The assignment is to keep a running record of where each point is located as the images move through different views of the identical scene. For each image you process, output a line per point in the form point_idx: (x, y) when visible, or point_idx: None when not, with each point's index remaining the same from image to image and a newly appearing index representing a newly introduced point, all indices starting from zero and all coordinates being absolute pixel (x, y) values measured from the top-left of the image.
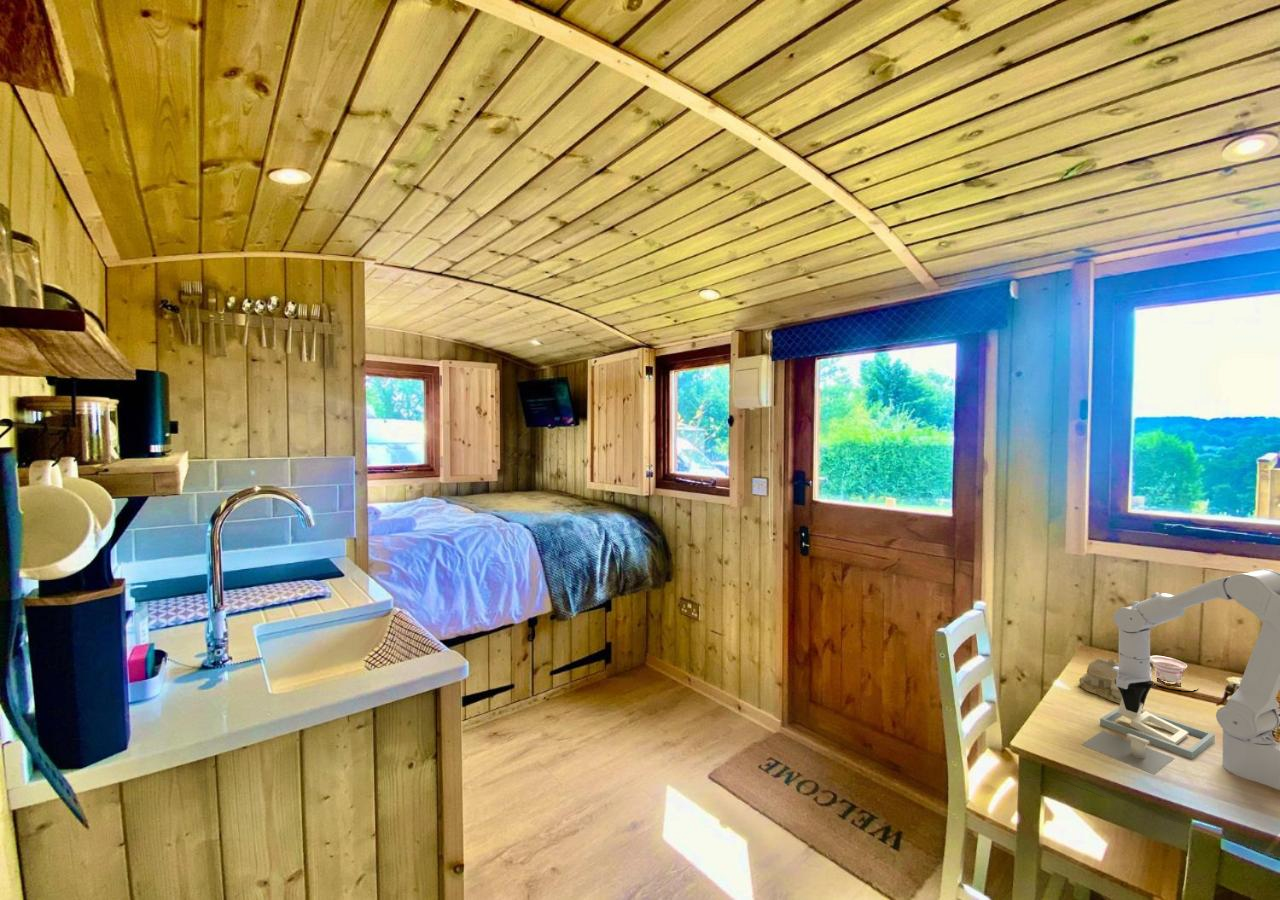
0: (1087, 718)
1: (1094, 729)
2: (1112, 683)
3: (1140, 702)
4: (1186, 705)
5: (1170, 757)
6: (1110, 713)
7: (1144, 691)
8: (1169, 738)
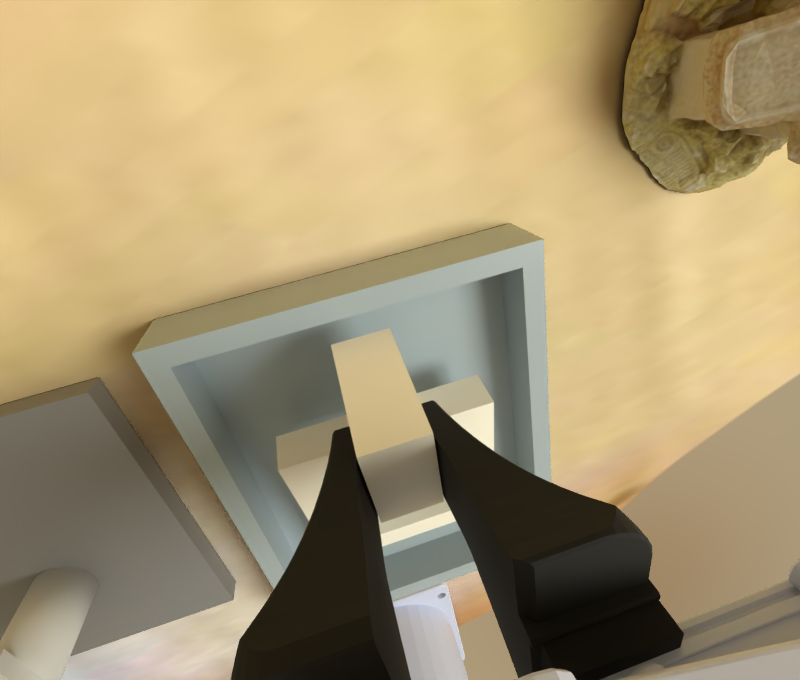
0: (191, 190)
1: (100, 318)
2: (789, 25)
3: (437, 495)
4: None
5: (218, 597)
6: (293, 316)
7: (490, 599)
8: None
